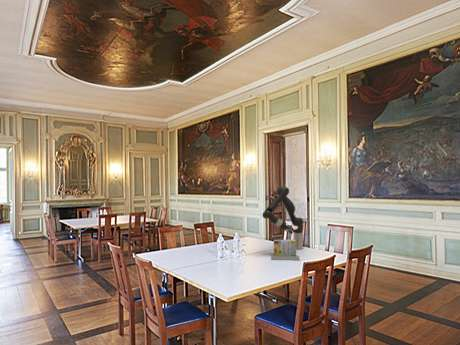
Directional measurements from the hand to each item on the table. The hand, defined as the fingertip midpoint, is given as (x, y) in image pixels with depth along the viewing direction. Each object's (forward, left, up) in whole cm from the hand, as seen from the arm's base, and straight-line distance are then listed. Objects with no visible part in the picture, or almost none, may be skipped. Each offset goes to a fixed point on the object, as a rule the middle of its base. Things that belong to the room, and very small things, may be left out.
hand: (294, 232), depth 319 cm
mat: (+19, -10, -21) cm, 30 cm away
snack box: (+7, -10, -22) cm, 25 cm away
